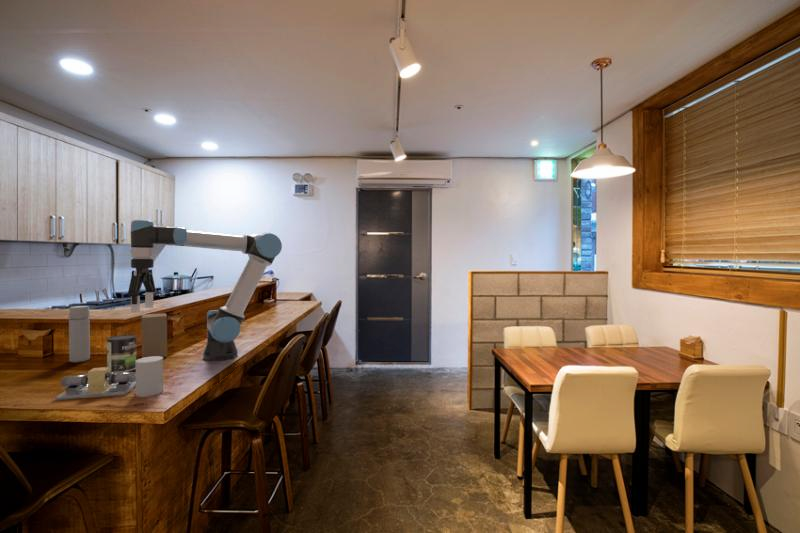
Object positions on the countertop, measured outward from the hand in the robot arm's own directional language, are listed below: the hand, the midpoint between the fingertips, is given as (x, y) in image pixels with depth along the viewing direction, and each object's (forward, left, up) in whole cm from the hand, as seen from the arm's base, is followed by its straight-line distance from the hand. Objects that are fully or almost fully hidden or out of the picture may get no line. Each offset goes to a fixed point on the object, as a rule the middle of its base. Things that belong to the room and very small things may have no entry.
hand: (142, 310), depth 149 cm
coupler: (+7, +18, -26) cm, 32 cm away
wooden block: (+6, -30, -27) cm, 41 cm away
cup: (-10, +23, -27) cm, 37 cm away
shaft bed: (+7, +18, -27) cm, 33 cm away
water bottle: (+36, -29, -27) cm, 53 cm away
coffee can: (+11, -9, -27) cm, 30 cm away
